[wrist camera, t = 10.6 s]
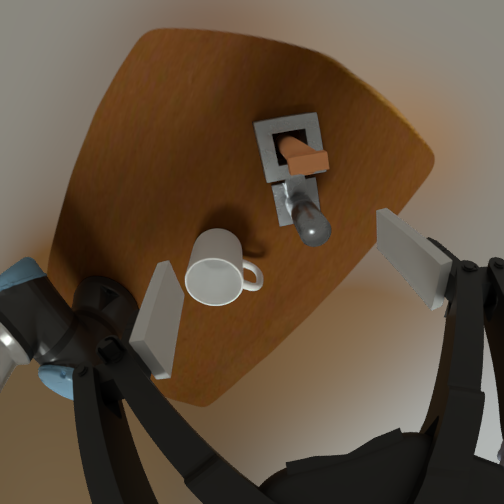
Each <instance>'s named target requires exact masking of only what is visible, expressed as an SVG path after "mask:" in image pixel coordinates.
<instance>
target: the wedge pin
mask: <svg viewBox="0 0 504 504" xmlns="http://www.w3.org/2000/svg"><path fill="white" fill-rule="evenodd" d="M275 145H276V148H277V149H278V150H279V152H280V153H281V154H282V155H283V156H284V157H285V159H286V160H287V164H288V169H289V173H290V175H291V176H292V175H298V174H302V175H310V174H313V173H314V172H316V171H320V170H326V169H329V162H328V155H327V152H326V151H325V150H320V151H316V150H314V149H313V148H311V147H309V146H308V145H306V144H304V143H303V142H301V141H299V140H298V139H296V138H294V137H292V136H291V135H289V134H281V135H280V136H278V137H277V139H276V141H275Z"/></svg>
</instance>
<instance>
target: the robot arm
mask: <svg viewBox="0 0 504 504" xmlns="http://www.w3.org/2000/svg"><path fill="white" fill-rule="evenodd" d="M376 213H377V249H378V250H379V251H380V252H381V253H382V254H383V255H384V256H385V257H386V259H387V260H389V262H390V263H391V264H392V265H393V266H394V267H395V268H396V269H397V271H398V272H399V273H400V274H401V275H402V276H403V277H404V279H405V280H406V281H407V282H408V283H409V284H410V285H411V287H412V288H413V289H414V290H415V291H416V293H417V294H418V295H419V296H420V297H421V299H422V300H423V301H424V302H425V303H426V305H427V306H428V307H429V309H430V310H431V311H432V310H434V309H436V308H438V307H441V306H442V304H443V301H444V297H446V299H447V300H448V301H449V302H448V305H447V309H446V312H445V316H444V317H446V324H445V331H444V339H443V345H442V352H441V357H440V363H439V368H438V373H437V377H436V382H435V386H434V390H433V394H432V399H431V402H430V406H429V409H428V412H427V416H426V419H425V421H424V423H423V425H422V427H421V430H420V432H419V433H418V432H406V433H402V432H401V430H400V428H398V429H395V430H393V431H391V432H388V433H386V434H383V435H381V436H378V437H375V438H373V439H372V440H370V441H369V442H367V443H365V444H364V445H362V446H360V447H359V448H357V449H356V450H354V451H352V452H350V453H348V454H345V455H332V456H313V457H309V458H305V459H300V460H296V461H291V462H286V467H287V468H284V469H282V470H280V471H278V472H276V473H275V474H273V475H272V476H270V477H269V478H268V479H266V480H265V481H264V482H263V483H262V484H261V485H260V486H259V487H258V486H256V485H255V484H254V483H253V482H251V481H250V480H249V479H248V478H246V477H245V476H244V475H243V474H241V473H240V472H239V471H238V470H237V469H235V468H234V467H233V466H232V465H231V464H230V463H228V462H227V461H226V460H225V459H224V458H223V457H222V456H221V455H220V454H219V453H217V452H216V451H215V450H214V449H213V448H212V447H211V446H210V445H209V444H208V443H207V442H206V441H205V440H204V439H203V438H202V437H201V436H200V435H199V434H198V433H197V432H196V431H195V430H194V429H193V428H192V427H191V426H190V425H189V424H188V423H187V422H186V420H185V419H184V418H183V417H182V416H181V415H180V414H179V413H178V412H177V411H176V410H175V408H174V407H173V406H172V405H171V404H170V403H169V401H168V400H167V399H166V398H165V397H164V395H163V394H162V393H161V392H160V391H159V389H158V388H157V387H156V386H155V385H154V383H153V382H152V381H151V380H150V376H151V373H152V374H153V375H154V376H155V378H156V379H164V378H171V371H172V365H173V358H174V352H175V346H176V339H177V334H178V328H179V322H180V317H181V311H182V306H183V301H184V293H183V291H182V289H181V287H180V284H179V282H178V280H177V278H176V275H175V273H174V271H173V269H172V266H171V264H170V262H169V260H168V261H164V262H160V263H158V264H157V266H156V269H155V271H154V274H153V276H152V279H151V281H150V284H149V287H148V289H147V292H146V295H145V297H144V300H143V303H142V305H141V308H140V309H139V310H138V306H137V304H136V302H135V300H134V298H133V297H132V295H131V294H130V293H129V292H128V291H127V290H126V289H125V288H124V287H123V286H121V285H120V284H119V283H117V282H115V281H113V280H111V279H109V278H106V277H101V276H92V277H88V278H86V279H84V280H83V281H82V282H81V283H80V284H79V286H78V287H77V289H76V291H75V293H74V298H73V304H72V308H70V307H69V305H68V304H67V303H66V302H65V300H64V299H63V298H62V296H61V295H60V294H59V292H58V291H57V290H56V288H55V287H54V286H53V284H52V283H51V281H50V280H49V279H48V277H47V274H46V273H44V272H43V271H42V269H41V268H40V267H39V265H38V264H37V263H36V261H35V260H34V259H33V258H31V257H25V258H23V259H21V260H20V261H18V262H17V263H16V264H14V265H13V266H11V267H10V268H9V269H7V270H6V271H5V272H3V273H2V274H1V275H0V392H1V390H2V389H3V387H4V385H5V383H6V382H7V380H8V378H9V377H10V375H11V373H12V372H13V370H14V368H15V367H16V366H17V365H22V364H29V363H30V361H31V360H32V358H34V359H35V360H36V361H37V362H38V363H39V364H40V367H39V369H38V370H39V372H38V375H39V377H40V379H41V381H42V382H43V383H44V384H45V385H46V386H47V387H48V388H50V389H51V390H53V391H54V392H56V393H58V394H60V395H62V396H64V397H66V398H69V399H71V400H74V411H75V422H76V430H77V437H78V443H79V449H80V455H81V460H82V465H83V469H84V474H85V478H86V483H87V487H88V491H89V494H90V498H91V501H92V504H158V502H157V499H156V497H155V495H154V493H153V491H152V488H151V486H150V484H149V481H148V479H147V476H146V474H145V471H144V469H143V466H142V464H141V461H140V458H139V456H138V453H137V450H136V447H135V444H134V441H133V438H132V435H131V432H130V428H129V425H128V421H127V418H126V414H125V411H124V407H123V403H122V399H125V400H126V401H127V403H128V404H129V406H130V407H131V409H132V411H133V412H134V414H135V415H136V417H137V418H138V420H139V421H140V423H141V424H142V425H143V427H144V428H145V430H146V431H147V433H148V434H149V435H150V437H151V438H152V440H153V441H154V442H155V444H156V445H157V446H158V447H159V449H160V450H161V451H162V453H163V454H164V455H165V456H166V458H167V459H168V460H169V461H170V462H171V464H172V465H173V466H174V467H175V468H176V469H177V471H178V472H179V473H180V474H181V475H182V477H183V478H184V483H185V484H186V486H187V487H188V488H189V489H190V490H191V492H192V493H193V494H194V495H195V496H196V497H197V498H198V499H199V500H200V501H201V502H202V503H203V504H504V260H503V259H501V258H497V257H494V258H491V259H490V260H489V263H488V267H478V266H477V265H476V264H475V263H474V262H472V261H468V260H467V261H466V260H463V261H460V260H459V259H458V258H457V257H456V256H454V255H453V254H452V253H451V252H450V251H449V250H447V249H446V248H445V247H444V246H442V245H441V244H440V243H439V242H437V241H436V240H434V239H431V238H429V237H428V238H425V237H424V236H423V235H421V234H420V233H419V232H418V231H416V230H415V229H414V228H412V227H411V226H410V225H409V224H407V223H406V222H405V221H403V220H402V219H401V218H399V217H398V216H397V215H395V214H394V213H393V212H391V211H390V210H389V209H387V208H384V209H380V210H376ZM484 328H485V332H486V335H487V339H488V343H489V348H490V352H491V357H492V362H493V367H494V373H495V380H496V387H497V394H498V403H499V414H500V425H501V432H502V438H503V442H502V444H501V448H500V450H499V451H498V455H497V457H498V460H499V461H500V464H497V463H494V462H491V461H489V460H486V459H484V458H481V457H478V456H476V455H474V452H475V448H476V444H477V440H478V436H479V431H480V426H481V421H482V415H483V409H484V402H485V393H484V392H481V379H482V367H483V349H484Z"/></svg>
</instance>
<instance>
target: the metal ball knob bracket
mask: <svg viewBox="0 0 504 504" xmlns="http://www.w3.org/2000/svg"><path fill="white" fill-rule="evenodd" d="M252 124H253V129H254V133H255V137H256V142H257V146H258V150H259V155H260V159H261V164H262V168H263V173H264V177H265V179H266V181H267V183H270V182H274V181H279V180H283V181H284V182H282V183H277V184H272V185H271V186H272V191H273V196H274V200H275V205H276V210H277V215H278V221H279V225H280V226H285V225H289V224H294V225H295V227H296V229H297V231H298V233H299V235H300V237H301V240H302V241H303V242H304V243H305V244H306V245H308V246H312V247H316V246H320V245H322V244H324V243H325V242H326V241H327V240H328V239H329V237H330V235H331V226H330V223H329V222H328V221H327V219H326V218H325V217H324V215H323V214H322V213H321V211H320V205H319V198H318V191H317V183H316V177H315V176H312V177H307V178H305V175H302V174H298V175H292V176H291V175H290V173H289V169H288V164H287V160H286V159H280V160H277V156H276V152H275V147H274V142H273V137H272V134H275V133H281V132H286V131H292V130H298V129H299V135H300V140H301V142H303V143H304V144H306V145H308V146H309V147H311V148H313V149H314V150H316V151H320V150H323V146H322V140H321V134H320V128H319V123H318V117H317V112H305V113H298V114H292V115H286V116H280V117H274V118H269V119H264V120H259V121H254V122H252ZM321 172H326V170H320V171H316V172H314V173H313V174H315V173H321Z"/></svg>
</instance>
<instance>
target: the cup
mask: <svg viewBox="0 0 504 504" xmlns="http://www.w3.org/2000/svg"><path fill="white" fill-rule="evenodd" d="M243 267H244V268H247V269H249V270H251V271H253V272H254V273H255V275H256V277H257V281H256V283H251V282H248V281H246V280H243ZM185 285H186V288H187V290H188V292H189V293H190V295H191V296H192V297H193V298H194V299H196V300H197V301H199V302H201V303H203V304H206V305H211V306H220V305H225V304H228V303H230V302H232V301H234V300H235V299H236V298H237V297H238V296H239V295H240V293H241V292H242V289H246V290H250V291H256V290H259V289H260V288H261V287H262V285H263V275H262V272H261V270H260V269H259V268H258V267H257V266H256V265H254V264H253V263H251V262H249V261H246V260H244V259H242V247H241V244H240V241H239V240H238V238H237V237H236V236H235V235H234V234H233V233H231V232H230V231H228V230H225V229H220V228H215V229H210V230H207V231H205V232H203V233H202V234H201V235H200V236H199V237H198V238H197V240H196V241H195V244H194V246H193V250H192V254H191V257H190V261H189V264H188V268H187V272H186V276H185Z"/></svg>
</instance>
